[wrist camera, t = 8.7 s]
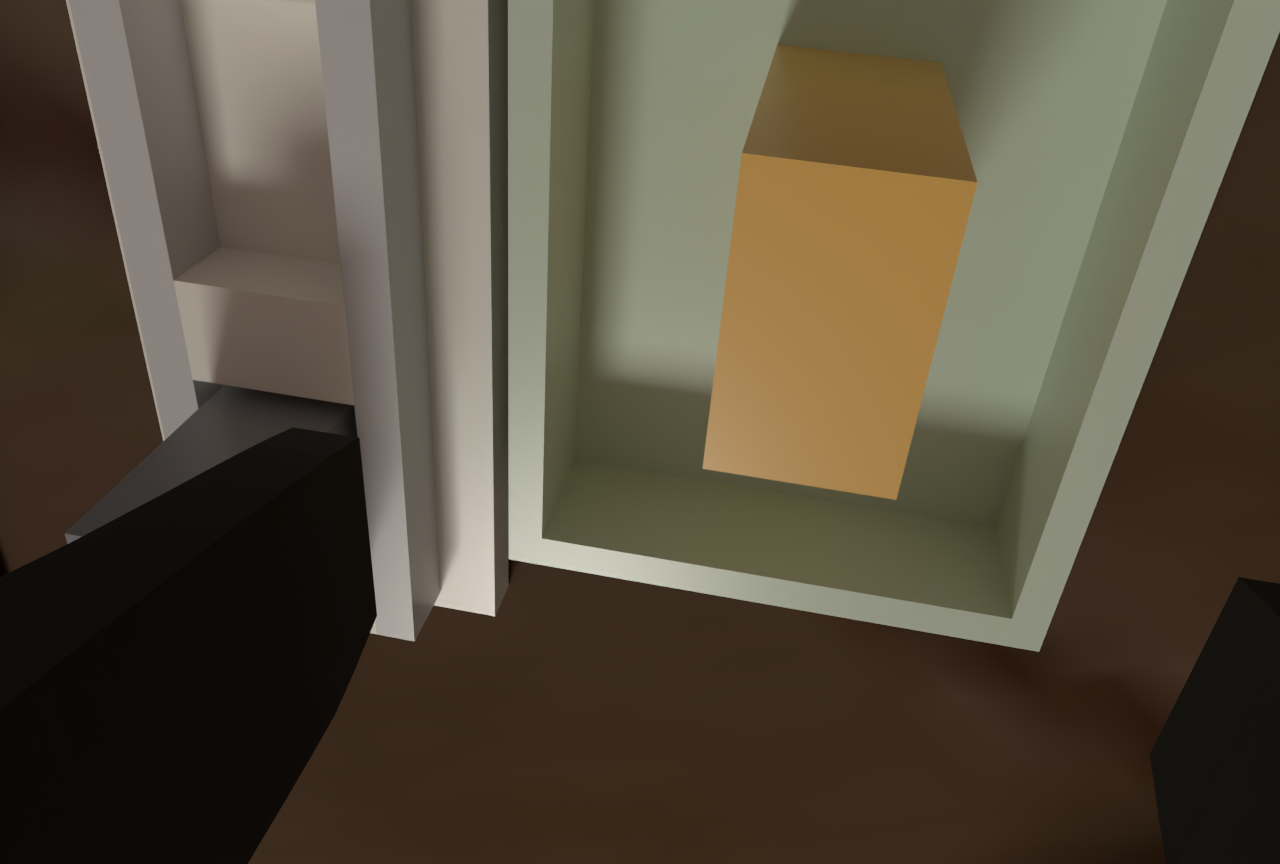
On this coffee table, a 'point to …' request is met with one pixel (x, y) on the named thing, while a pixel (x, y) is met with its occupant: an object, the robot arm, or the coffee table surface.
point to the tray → (972, 322)
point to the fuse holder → (328, 244)
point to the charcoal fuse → (214, 444)
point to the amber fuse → (838, 270)
